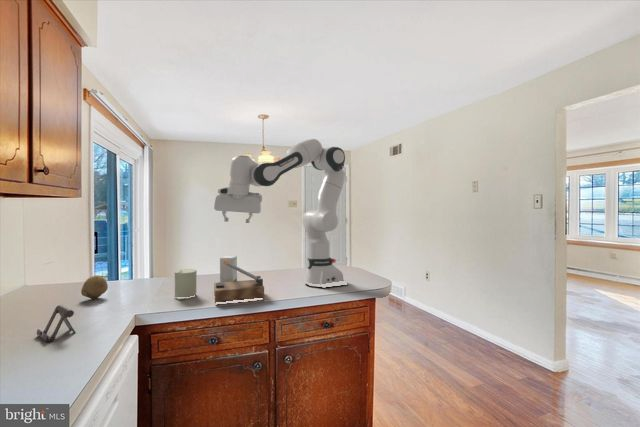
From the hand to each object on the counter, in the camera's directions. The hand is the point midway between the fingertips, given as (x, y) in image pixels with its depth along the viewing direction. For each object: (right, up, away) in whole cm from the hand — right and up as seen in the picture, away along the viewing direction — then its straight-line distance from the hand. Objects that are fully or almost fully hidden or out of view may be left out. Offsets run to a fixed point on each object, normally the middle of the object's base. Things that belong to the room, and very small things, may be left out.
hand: (236, 222), depth 139 cm
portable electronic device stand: (-44, -34, -43) cm, 71 cm away
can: (-23, -33, 0) cm, 40 cm away
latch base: (+1, -34, -2) cm, 34 cm away
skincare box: (-8, -33, +15) cm, 37 cm away
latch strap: (+3, -22, -2) cm, 23 cm away
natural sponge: (-59, -33, -6) cm, 68 cm away
